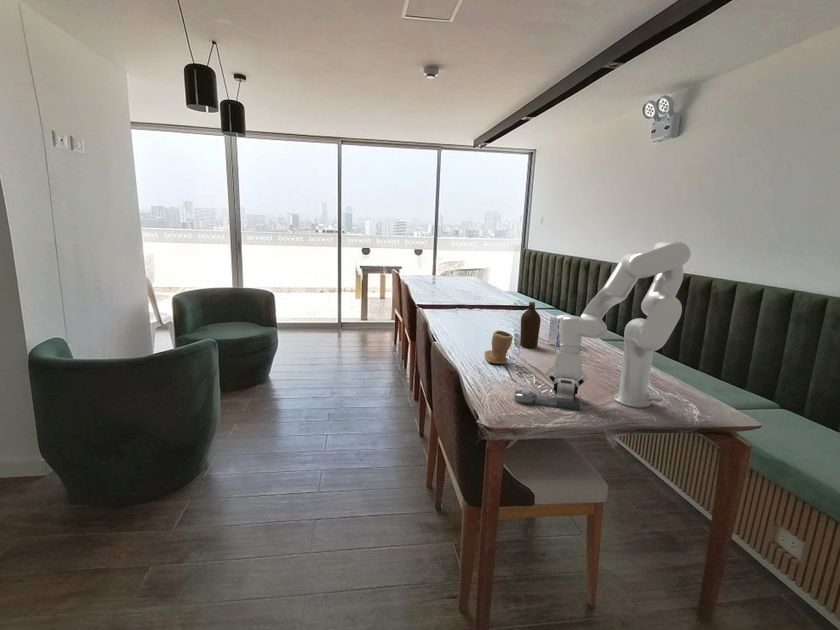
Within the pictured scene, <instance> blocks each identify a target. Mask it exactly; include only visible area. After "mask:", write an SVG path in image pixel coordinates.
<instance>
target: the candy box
mask: <svg viewBox="0 0 840 630" xmlns="http://www.w3.org/2000/svg"><path fill="white" fill-rule="evenodd" d="M564 316H571V315H570V314H559V315H558V314H557V315H554V316H553V315H552V316H550V323H549V333H548V343H547V344H548V345H549V344H551V345H550V346H553V345H556V346H555V347H558V346H557V345H559V343H560V333H561V322H562V318H563V317H564Z"/></svg>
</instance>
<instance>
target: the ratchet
mask: <svg viewBox="0 0 840 630" xmlns="http://www.w3.org/2000/svg"><path fill="white" fill-rule="evenodd" d="M530 387H531V382H522V387H521V390H520V389H519V390H516V391H514V397H513V399H514V400H513V401H514V402H516V403H517V404H521V405H526V406H531V405H541V406H547V407H555V408H559V409H566V410H573V411H582V407H583V406H582V405H583V403H582V401H581V400H579V399H574V398H573V399H566V398H559V397H557V396H556V397H557V398H556V397H551V396H545V395H538V394H537V393H535V392H534V391H531V388H530Z"/></svg>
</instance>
